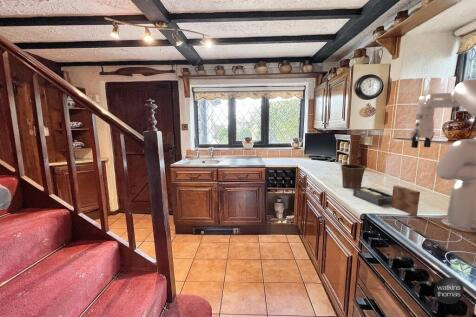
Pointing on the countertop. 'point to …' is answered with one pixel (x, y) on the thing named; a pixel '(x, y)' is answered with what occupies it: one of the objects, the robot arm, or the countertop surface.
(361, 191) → the offcut
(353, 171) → the plant pot
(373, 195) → the offcut
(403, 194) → the walnut board
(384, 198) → the rack
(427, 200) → the countertop surface
